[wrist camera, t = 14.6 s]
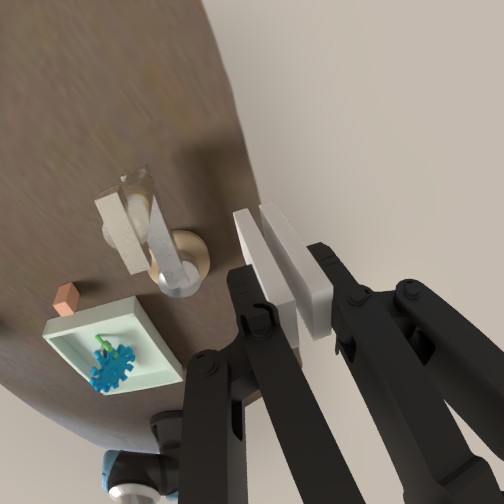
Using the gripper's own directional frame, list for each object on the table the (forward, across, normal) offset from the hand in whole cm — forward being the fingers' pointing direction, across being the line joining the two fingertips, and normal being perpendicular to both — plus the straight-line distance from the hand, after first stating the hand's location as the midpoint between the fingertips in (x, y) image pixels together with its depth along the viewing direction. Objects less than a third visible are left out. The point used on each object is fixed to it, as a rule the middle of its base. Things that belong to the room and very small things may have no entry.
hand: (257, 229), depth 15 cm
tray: (+18, +25, +26) cm, 41 cm away
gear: (+18, +25, +26) cm, 41 cm away
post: (+18, +26, +12) cm, 34 cm away
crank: (+16, +8, +6) cm, 19 cm away
